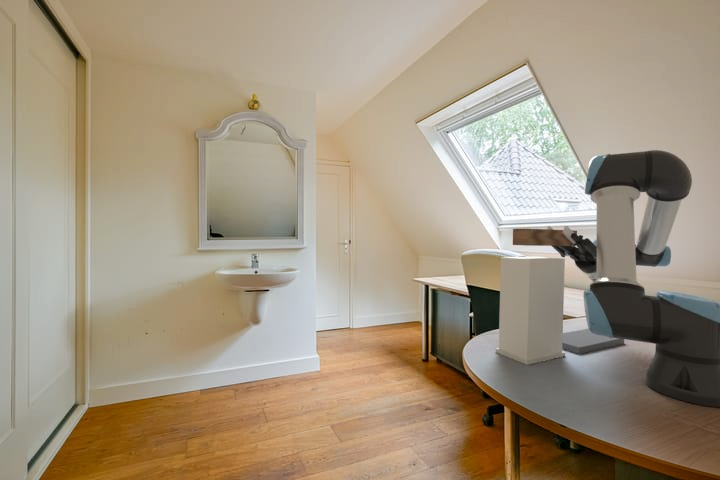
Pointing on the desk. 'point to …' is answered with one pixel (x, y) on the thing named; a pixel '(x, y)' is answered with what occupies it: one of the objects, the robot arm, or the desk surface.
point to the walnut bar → (540, 237)
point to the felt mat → (587, 341)
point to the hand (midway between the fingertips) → (555, 229)
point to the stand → (531, 308)
